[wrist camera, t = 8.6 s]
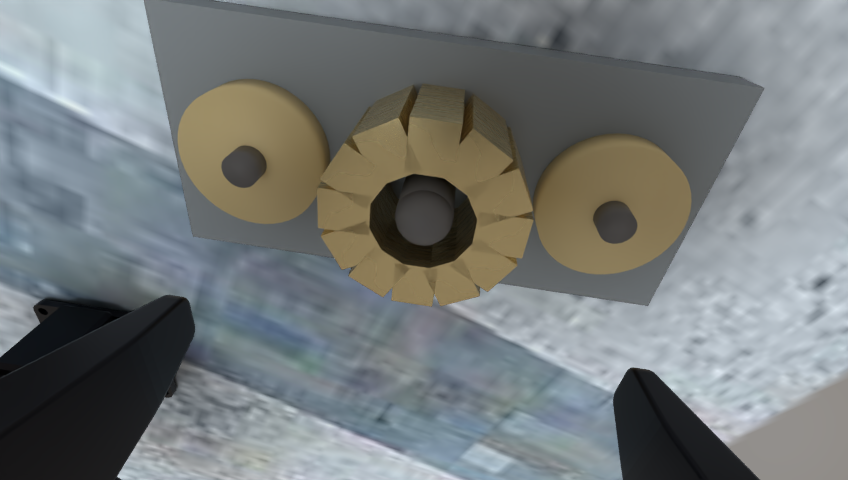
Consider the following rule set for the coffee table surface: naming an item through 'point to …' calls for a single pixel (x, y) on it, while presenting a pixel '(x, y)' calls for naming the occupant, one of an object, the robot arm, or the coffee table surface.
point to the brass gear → (439, 157)
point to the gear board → (475, 73)
